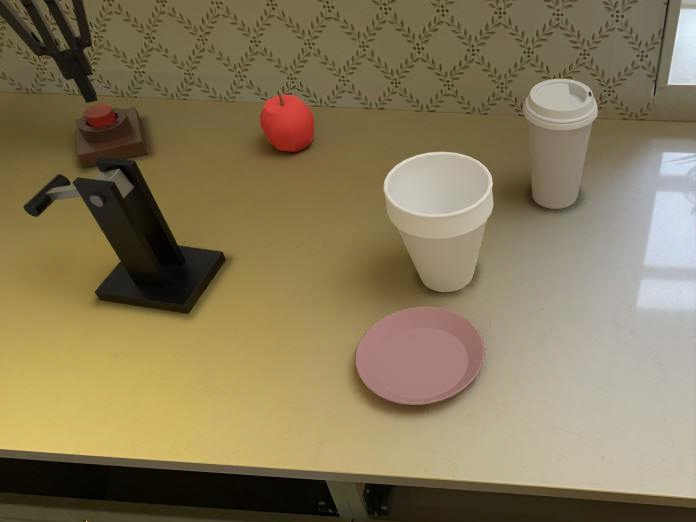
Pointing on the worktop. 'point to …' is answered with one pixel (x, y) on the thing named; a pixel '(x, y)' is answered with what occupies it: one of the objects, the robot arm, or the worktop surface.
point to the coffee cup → (558, 139)
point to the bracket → (144, 245)
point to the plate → (420, 355)
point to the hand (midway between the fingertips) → (91, 97)
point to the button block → (111, 138)
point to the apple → (287, 123)
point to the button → (100, 115)
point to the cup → (440, 214)
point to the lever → (71, 190)
